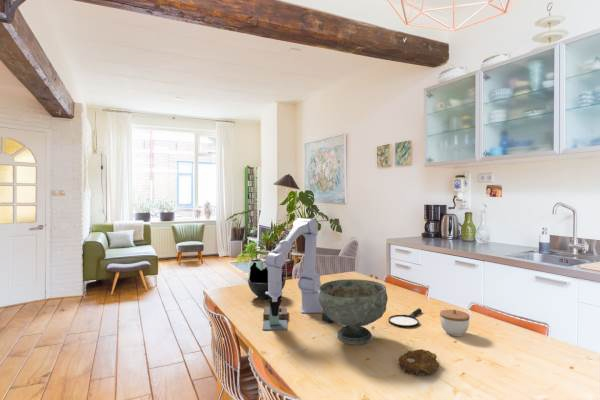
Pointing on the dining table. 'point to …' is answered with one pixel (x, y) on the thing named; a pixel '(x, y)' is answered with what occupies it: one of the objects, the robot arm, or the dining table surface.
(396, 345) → the dining table surface
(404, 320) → the magnifying glass
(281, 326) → the rubber mat
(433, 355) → the decorative rock
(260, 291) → the coal bowl
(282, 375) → the dining table surface
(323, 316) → the watch
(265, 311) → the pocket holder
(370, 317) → the decorative bowl
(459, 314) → the lidded jar
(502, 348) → the dining table surface
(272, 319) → the teal block
